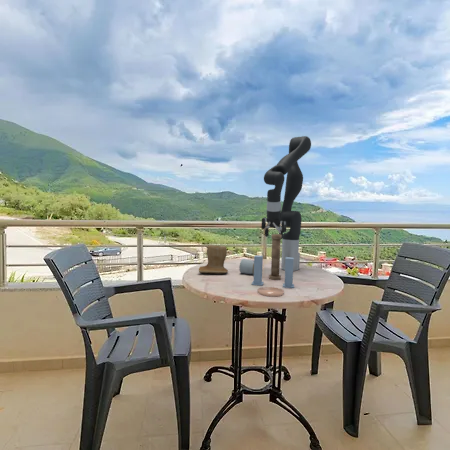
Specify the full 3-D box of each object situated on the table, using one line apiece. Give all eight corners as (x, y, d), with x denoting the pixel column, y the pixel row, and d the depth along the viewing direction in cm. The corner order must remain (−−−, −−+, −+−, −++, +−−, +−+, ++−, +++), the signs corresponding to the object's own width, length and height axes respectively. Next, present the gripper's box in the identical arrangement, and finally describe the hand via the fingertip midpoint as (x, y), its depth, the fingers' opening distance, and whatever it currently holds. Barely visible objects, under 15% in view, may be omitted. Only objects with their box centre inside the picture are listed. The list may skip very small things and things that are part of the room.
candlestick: (276, 276, 165) (277, 233, 163) (283, 279, 160) (284, 235, 158) (266, 277, 162) (268, 234, 161) (273, 280, 157) (275, 235, 156)
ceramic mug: (253, 276, 165) (254, 261, 165) (238, 274, 169) (239, 259, 168) (260, 272, 175) (260, 258, 175) (245, 270, 178) (246, 257, 178)
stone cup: (227, 270, 177) (227, 243, 176) (228, 275, 165) (229, 246, 164) (199, 270, 177) (199, 242, 176) (198, 275, 165) (199, 245, 164)
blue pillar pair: (294, 285, 149) (295, 257, 148) (294, 288, 144) (295, 259, 143) (253, 282, 153) (253, 254, 152) (251, 284, 148) (252, 256, 147)
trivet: (273, 288, 143) (273, 285, 143) (289, 294, 134) (289, 292, 133) (252, 290, 138) (252, 288, 138) (267, 297, 129) (267, 295, 128)
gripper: (289, 209, 170) (288, 238, 175) (266, 205, 179) (266, 233, 184) (281, 212, 165) (281, 242, 170) (258, 208, 174) (258, 237, 179)
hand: (273, 237), depth 177 cm, fingers open, 8 cm apart
